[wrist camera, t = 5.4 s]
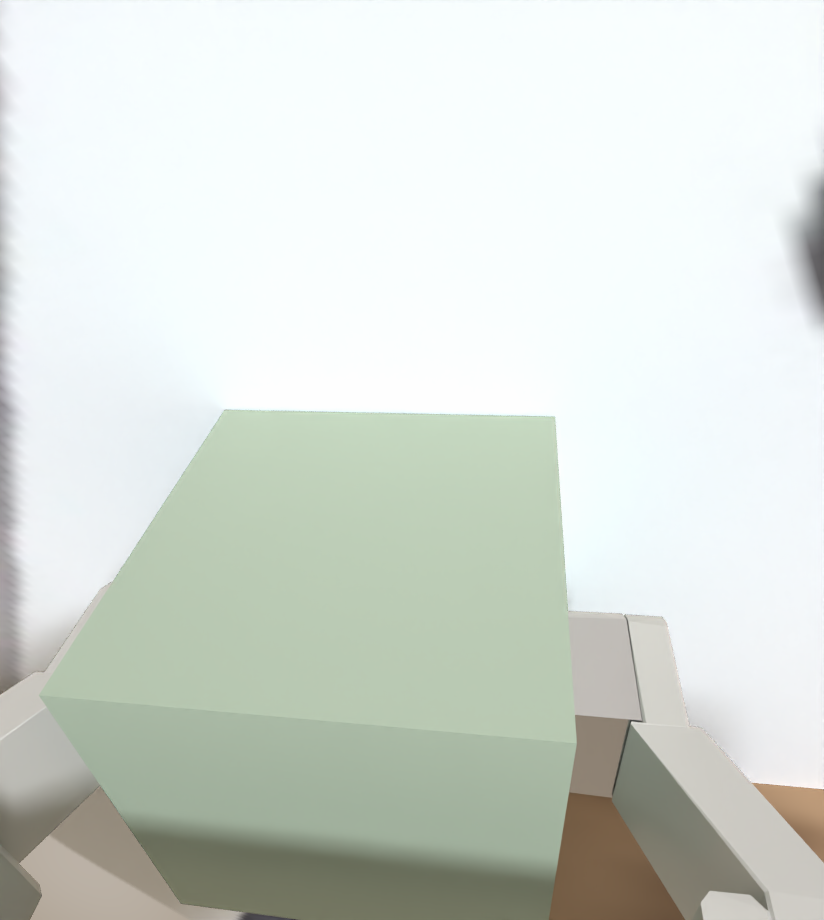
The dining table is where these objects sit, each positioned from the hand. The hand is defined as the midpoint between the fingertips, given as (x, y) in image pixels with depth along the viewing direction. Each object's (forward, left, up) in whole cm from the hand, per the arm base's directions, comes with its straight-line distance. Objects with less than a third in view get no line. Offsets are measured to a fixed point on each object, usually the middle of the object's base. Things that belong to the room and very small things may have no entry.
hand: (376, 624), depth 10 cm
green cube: (0, 0, -2) cm, 2 cm away
